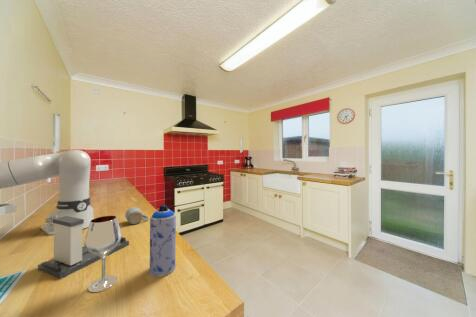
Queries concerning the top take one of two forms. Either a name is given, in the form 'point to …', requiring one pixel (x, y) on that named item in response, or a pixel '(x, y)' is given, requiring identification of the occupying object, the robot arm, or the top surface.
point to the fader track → (64, 270)
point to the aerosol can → (162, 242)
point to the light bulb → (135, 215)
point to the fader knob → (68, 239)
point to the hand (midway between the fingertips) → (11, 207)
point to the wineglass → (102, 246)
